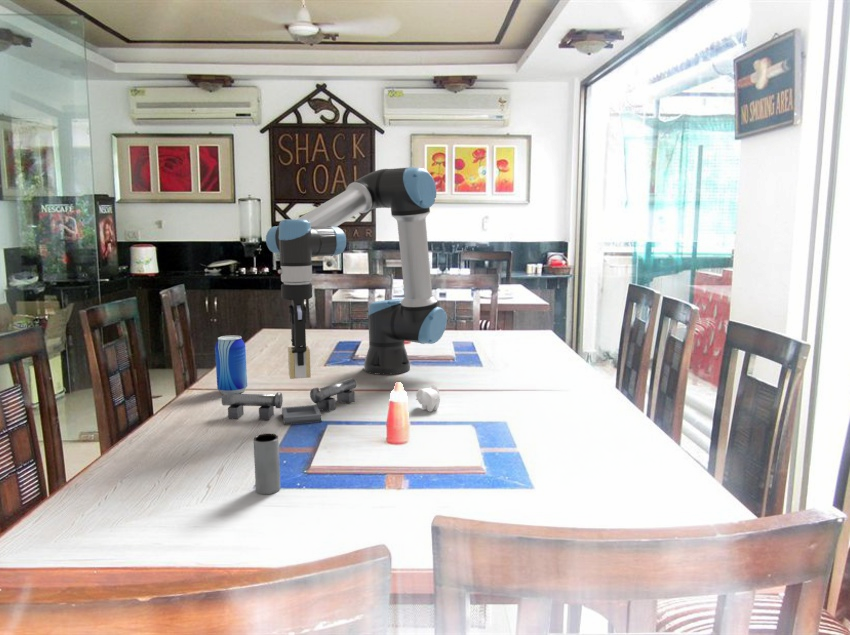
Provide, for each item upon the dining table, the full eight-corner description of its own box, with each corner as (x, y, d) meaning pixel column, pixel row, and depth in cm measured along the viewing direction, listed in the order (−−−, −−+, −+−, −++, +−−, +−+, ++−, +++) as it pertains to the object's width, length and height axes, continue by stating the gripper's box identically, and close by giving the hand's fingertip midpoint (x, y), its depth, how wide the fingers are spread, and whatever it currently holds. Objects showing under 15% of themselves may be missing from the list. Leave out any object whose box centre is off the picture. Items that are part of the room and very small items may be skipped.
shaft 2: (322, 414, 169) (321, 389, 168) (309, 411, 172) (309, 387, 171) (359, 400, 181) (358, 377, 180) (346, 397, 184) (346, 375, 183)
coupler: (288, 374, 166) (287, 347, 165) (308, 372, 167) (307, 345, 166) (290, 379, 161) (289, 351, 160) (310, 377, 162) (309, 350, 161)
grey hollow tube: (258, 485, 125) (255, 433, 124) (281, 484, 126) (279, 432, 124) (253, 495, 121) (251, 441, 119) (278, 494, 121) (276, 441, 120)
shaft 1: (283, 414, 168) (282, 390, 167) (278, 420, 164) (277, 395, 163) (227, 413, 170) (226, 389, 169) (221, 419, 165) (219, 394, 164)
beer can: (239, 396, 186) (236, 340, 183) (212, 394, 188) (208, 339, 185) (252, 388, 194) (249, 335, 192) (226, 386, 196) (223, 334, 193)
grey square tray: (317, 411, 171) (317, 404, 171) (321, 421, 163) (321, 414, 163) (282, 414, 169) (281, 407, 169) (284, 425, 160) (284, 418, 160)
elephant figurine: (427, 403, 178) (426, 382, 177) (448, 409, 172) (448, 387, 171) (408, 408, 173) (408, 387, 172) (430, 415, 168) (430, 392, 167)
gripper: (278, 279, 168) (282, 367, 172) (283, 287, 151) (287, 385, 154) (308, 278, 170) (310, 365, 174) (316, 286, 153) (319, 382, 156)
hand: (299, 374), depth 164 cm, fingers closed on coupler, 6 cm apart
